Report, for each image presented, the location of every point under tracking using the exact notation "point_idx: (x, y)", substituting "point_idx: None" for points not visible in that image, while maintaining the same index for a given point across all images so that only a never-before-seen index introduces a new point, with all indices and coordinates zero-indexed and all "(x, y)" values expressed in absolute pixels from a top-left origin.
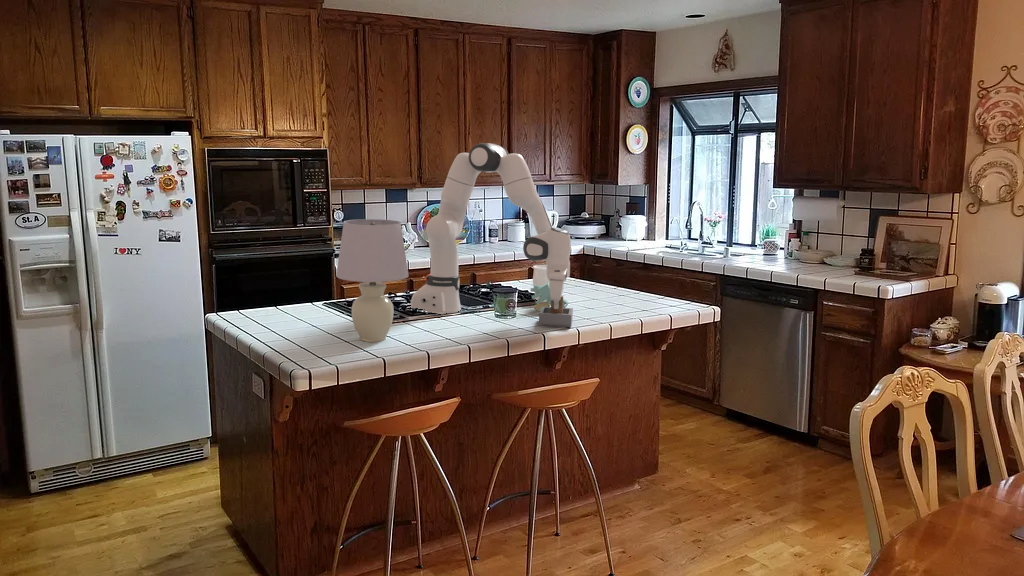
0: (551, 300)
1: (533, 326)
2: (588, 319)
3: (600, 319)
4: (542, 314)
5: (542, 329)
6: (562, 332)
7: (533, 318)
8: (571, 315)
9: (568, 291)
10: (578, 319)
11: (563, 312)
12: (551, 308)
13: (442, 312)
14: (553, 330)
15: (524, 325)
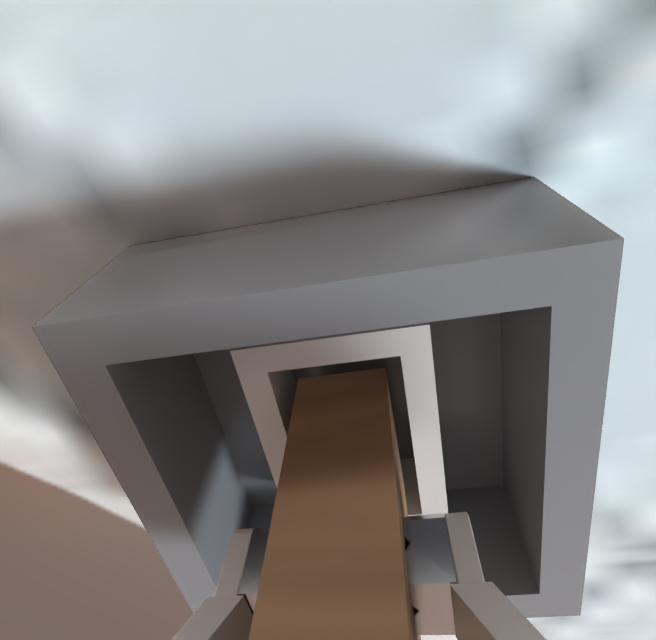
0: (258, 618)
1: (87, 186)
2: (627, 570)
3: (642, 628)
4: (66, 362)
5: (29, 314)
6: (54, 477)
7: (571, 36)
8: None
9: None
10: (613, 513)
11: (525, 494)
12: (283, 480)
13: None
14: (67, 409)
15: (58, 46)
